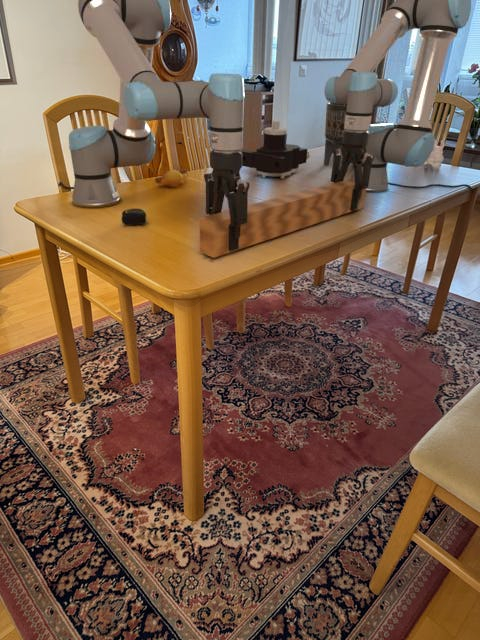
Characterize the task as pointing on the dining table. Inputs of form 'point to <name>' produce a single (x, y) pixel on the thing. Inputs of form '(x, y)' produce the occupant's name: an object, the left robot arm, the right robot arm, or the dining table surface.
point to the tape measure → (133, 216)
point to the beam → (278, 216)
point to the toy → (173, 178)
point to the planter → (334, 129)
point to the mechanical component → (275, 154)
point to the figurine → (435, 157)
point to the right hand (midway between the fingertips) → (345, 207)
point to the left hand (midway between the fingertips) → (225, 246)
